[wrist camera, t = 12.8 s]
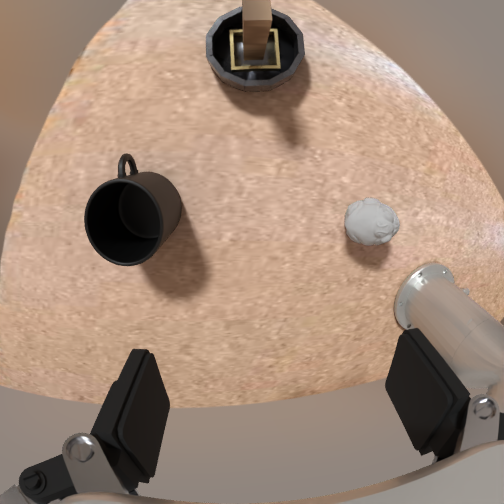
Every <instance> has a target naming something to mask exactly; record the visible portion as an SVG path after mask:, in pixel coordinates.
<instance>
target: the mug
mask: <svg viewBox="0 0 504 504" xmlns="http://www.w3.org/2000/svg"><path fill="white" fill-rule="evenodd" d="M126 162H128V164H129V166H130V170H131V171H130V175H128V176H126V173H125V164H126ZM180 216H181V201H180V197H179V194H178V192H177V190H176V188H175V187H174V185H173V184H172V183H171V182H170V181H169V180H168V179H167V178H165V177H164V176H162V175H160V174H157V173H153V172H140V173H138V170H137V168H136V164H135V161H134V159H133V157H132V156H131V155H130V154H123V155H122V156H121V158H120V160H119V163H118V178H116V179H113V180H110V181H107V182H105V183H103V184H102V185H100V186H99V187H98V188H97V189H96V190H95V191H94V192H93V194H92V195H91V197H90V198H89V200H88V203H87V206H86V209H85V216H84V222H85V230H86V233H87V236H88V239H89V241H90V243H91V245H92V246H93V248H94V249H95V250H96V251H97V253H98V254H100V255H101V256H102V257H103V258H104V259H106V260H107V261H109V262H111V263H113V264H116V265H121V266H134V265H138V264H141V263H143V262H145V261H146V260H148V259H149V258H150V257H152V256H153V255H154V253H155V252H156V251H157V250H158V249H159V247H160V246H161V245H162V244H163V242H164V241H165V240H166V239H167V238H168V237H169V235H170V234H171V233H172V232H173V231H174V229H175V228H176V226H177V225H178V222H179V219H180Z"/></svg>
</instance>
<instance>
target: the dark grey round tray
mask: <svg viewBox="0 0 504 504" xmlns="http://www.w3.org/2000/svg"><path fill="white" fill-rule="evenodd" d="M271 12H272V23H271V28H270V32H269V37H268V41H267V46H266V50H265V55H264V59H263V60H244V55H243V17H242V7H241V8H240V7H239V8H236V9H234V10H232V11H230V12H228V13H226V14H224V15H222V16H220V17H219V18H218V19H217V20H216V22H215V23H214V24H213V26H212V27H211V29H210V30H209V32H208V33H207V35H206V57H207V60H208V62H209V65H210V66H211V67H212V69H213V70H214V71H215V73H216V74H217V76H218V77H219V78H220V79H221V81H223V82H224V83H226V84H228V85H230V86H232V87H234V88H236V89H239V90H242V91H249V92H260V91H269V90H271V89H273V88H276V87H278V86H280V85H281V84H283V83H284V82H286V81H288V80H290V78H291V77H292V75H293V74H294V72H295V70H296V69H297V67H298V65H299V64H300V62H301V60H302V58H303V57H304V55H305V51H304V41H303V34H302V32H301V31H300V29H299V28H298V27H297V26H296V24H295V23H294V22H293V21H292V20H291V18H290V17H289V16H287V15H285V14H283V13H281V12H278V11H276V10H274V9H271Z"/></svg>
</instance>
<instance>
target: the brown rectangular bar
mask: <svg viewBox="0 0 504 504" xmlns="http://www.w3.org/2000/svg"><path fill="white" fill-rule="evenodd" d="M242 17H243V55H244V60H263V59H264V55H265V50H266V46H267V41H268V37H269V32H270V28H271V23H272V12H271V1H270V0H242Z"/></svg>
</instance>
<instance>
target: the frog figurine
mask: <svg viewBox="0 0 504 504" xmlns="http://www.w3.org/2000/svg"><path fill="white" fill-rule="evenodd" d="M399 226H400V224H399V219H398V217H397V215H396V214H395V212H394V211H393V210H392V208H391V207H389V206H388V205H386V204H383V203H381V202H380V201H379V200H377V199H375V198H365V199H364V200H359V201H356V202H354V203H353V204H351V205H349V206H348V209H347V211H346V213H345V227H346V234H347V235H348V236H349V238H350V239H351V240H352V241H354V242H356V243H362V244H363V245H367V246H370V245H374V244H375V245H380V244H382V243H385V242H388V241H390V240H391V238H392V237H393V236H394V235H395V234H396V233H397V232H398V230H399Z"/></svg>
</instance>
